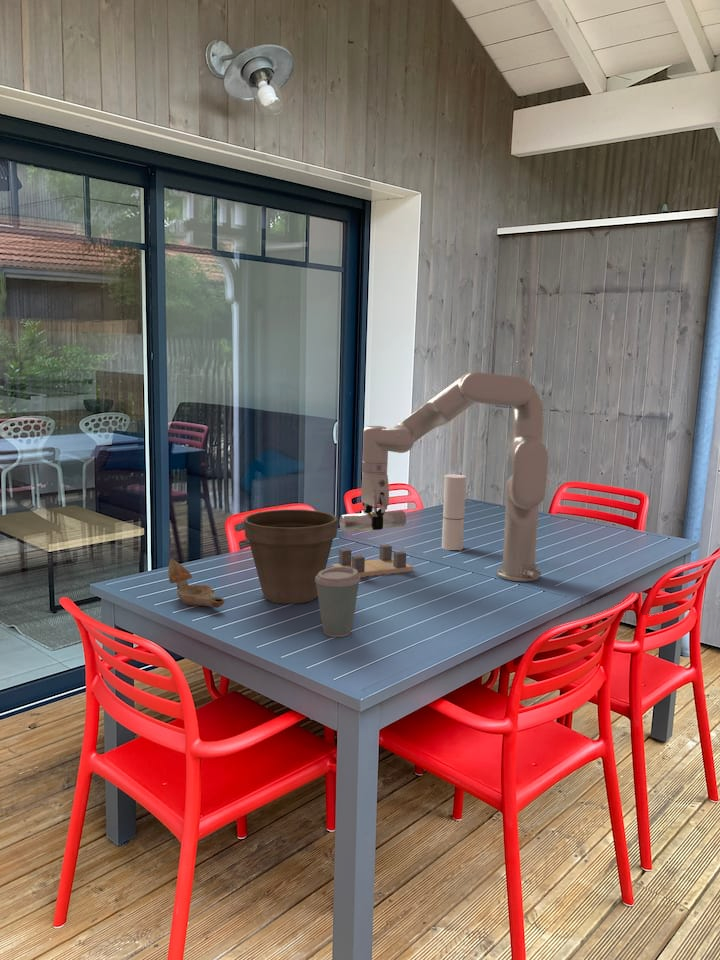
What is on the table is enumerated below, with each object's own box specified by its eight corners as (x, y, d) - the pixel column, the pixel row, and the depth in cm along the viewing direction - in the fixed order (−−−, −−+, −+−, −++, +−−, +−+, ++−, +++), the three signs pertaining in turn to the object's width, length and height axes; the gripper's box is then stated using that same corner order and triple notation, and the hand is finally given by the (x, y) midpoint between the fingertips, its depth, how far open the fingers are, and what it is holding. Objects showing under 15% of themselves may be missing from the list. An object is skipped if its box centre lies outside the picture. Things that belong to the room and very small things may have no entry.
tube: (397, 525, 239) (398, 508, 238) (406, 528, 234) (406, 511, 234) (339, 530, 230) (339, 513, 229) (346, 533, 225) (346, 516, 225)
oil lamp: (185, 591, 210) (184, 555, 209) (235, 609, 196) (235, 571, 195) (158, 598, 204) (157, 561, 202) (208, 617, 190) (208, 578, 188)
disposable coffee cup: (330, 644, 174) (331, 580, 172) (305, 629, 183) (305, 568, 180) (368, 635, 180) (369, 573, 178) (342, 621, 189) (343, 562, 186)
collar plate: (412, 571, 234) (413, 552, 233) (347, 579, 224) (347, 559, 223) (394, 562, 244) (395, 543, 243) (331, 569, 234) (331, 550, 234)
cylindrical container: (462, 546, 267) (465, 474, 263) (463, 551, 260) (466, 478, 256) (441, 545, 267) (444, 473, 263) (441, 550, 260) (444, 477, 256)
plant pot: (235, 586, 215) (235, 510, 212) (319, 579, 224) (320, 506, 220) (255, 615, 192) (255, 530, 188) (348, 606, 201) (350, 524, 197)
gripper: (399, 471, 223) (397, 532, 226) (372, 463, 238) (371, 520, 241) (376, 472, 220) (375, 534, 223) (351, 464, 235) (349, 522, 238)
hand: (373, 526), depth 232 cm, fingers closed on tube, 5 cm apart
